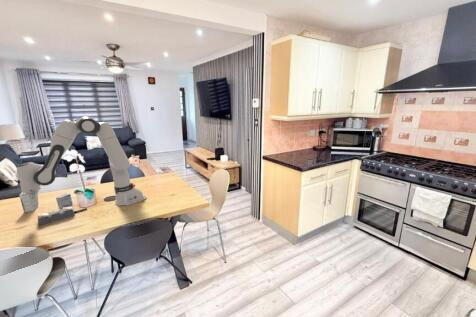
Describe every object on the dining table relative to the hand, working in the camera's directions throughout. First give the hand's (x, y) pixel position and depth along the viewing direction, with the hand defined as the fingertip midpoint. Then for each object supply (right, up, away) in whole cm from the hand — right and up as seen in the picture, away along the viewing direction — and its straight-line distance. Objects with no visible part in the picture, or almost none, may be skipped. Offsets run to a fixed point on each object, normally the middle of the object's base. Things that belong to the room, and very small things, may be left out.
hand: (36, 207), depth 145 cm
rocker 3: (+11, -4, +12) cm, 17 cm away
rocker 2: (+6, -5, +7) cm, 11 cm away
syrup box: (-23, -7, +21) cm, 32 cm away
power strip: (+8, -9, +12) cm, 17 cm away
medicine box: (-2, -5, +27) cm, 27 cm away
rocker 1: (+2, -6, +3) cm, 7 cm away
